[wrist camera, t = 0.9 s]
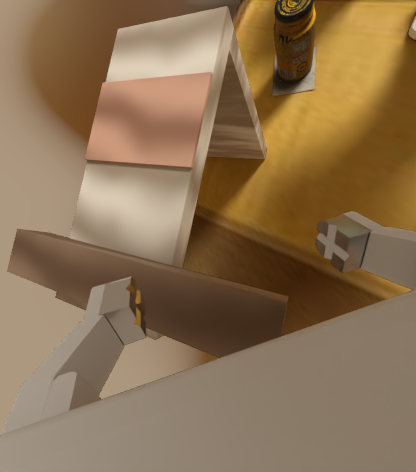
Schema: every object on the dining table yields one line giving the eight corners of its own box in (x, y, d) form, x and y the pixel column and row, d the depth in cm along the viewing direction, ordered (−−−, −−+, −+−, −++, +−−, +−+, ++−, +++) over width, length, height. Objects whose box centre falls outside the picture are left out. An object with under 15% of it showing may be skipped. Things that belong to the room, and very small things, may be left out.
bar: (49, 232, 24) (17, 228, 21) (288, 296, 15) (286, 304, 12) (40, 270, 24) (7, 271, 21) (276, 357, 15) (271, 379, 12)
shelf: (208, 147, 48) (116, 26, 24) (267, 149, 43) (226, 2, 19) (180, 280, 47) (52, 297, 23) (236, 296, 42) (153, 340, 18)
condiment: (316, 46, 42) (322, -32, 31) (314, 89, 41) (320, 26, 30) (274, 56, 45) (266, -12, 34) (272, 97, 44) (263, 41, 33)
